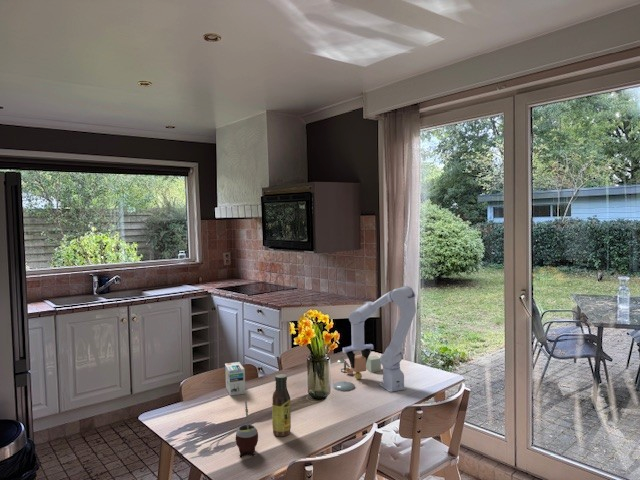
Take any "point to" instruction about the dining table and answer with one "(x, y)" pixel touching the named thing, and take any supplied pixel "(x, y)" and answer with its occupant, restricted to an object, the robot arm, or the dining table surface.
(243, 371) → the light bulb box
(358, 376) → the ball
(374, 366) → the sage green cube
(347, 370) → the balance
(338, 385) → the saucer
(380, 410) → the dining table surface
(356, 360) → the peach matte cube
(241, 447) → the mate gourd
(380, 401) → the dining table surface
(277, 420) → the sauce bottle
